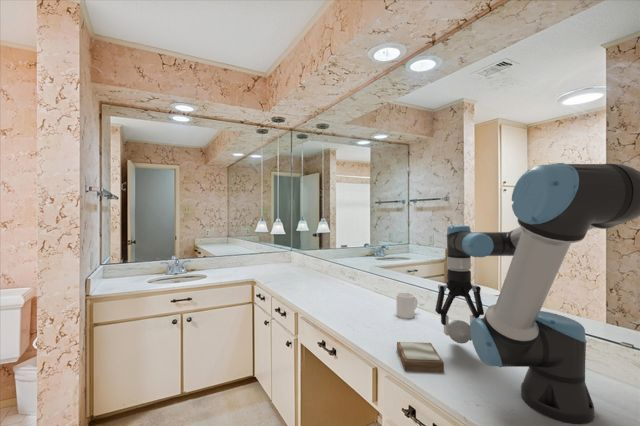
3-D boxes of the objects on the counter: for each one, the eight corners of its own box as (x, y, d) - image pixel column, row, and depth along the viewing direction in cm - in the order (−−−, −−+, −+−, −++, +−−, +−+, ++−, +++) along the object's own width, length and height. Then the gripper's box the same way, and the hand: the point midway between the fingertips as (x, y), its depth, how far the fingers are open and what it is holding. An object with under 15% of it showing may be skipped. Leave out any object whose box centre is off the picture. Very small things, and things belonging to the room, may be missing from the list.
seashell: (455, 359, 107) (459, 338, 98) (435, 332, 116) (436, 310, 107) (475, 349, 108) (481, 327, 99) (454, 323, 117) (457, 300, 108)
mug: (410, 310, 152) (410, 290, 152) (423, 315, 145) (423, 294, 145) (392, 314, 146) (392, 293, 146) (405, 320, 139) (405, 298, 139)
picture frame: (443, 372, 95) (443, 361, 95) (404, 370, 96) (404, 360, 96) (430, 351, 109) (430, 342, 109) (396, 350, 110) (396, 341, 110)
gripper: (485, 267, 109) (485, 331, 109) (425, 267, 110) (425, 329, 110) (495, 271, 101) (496, 339, 101) (431, 270, 103) (431, 337, 103)
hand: (459, 334), depth 106 cm, fingers closed on seashell, 8 cm apart
